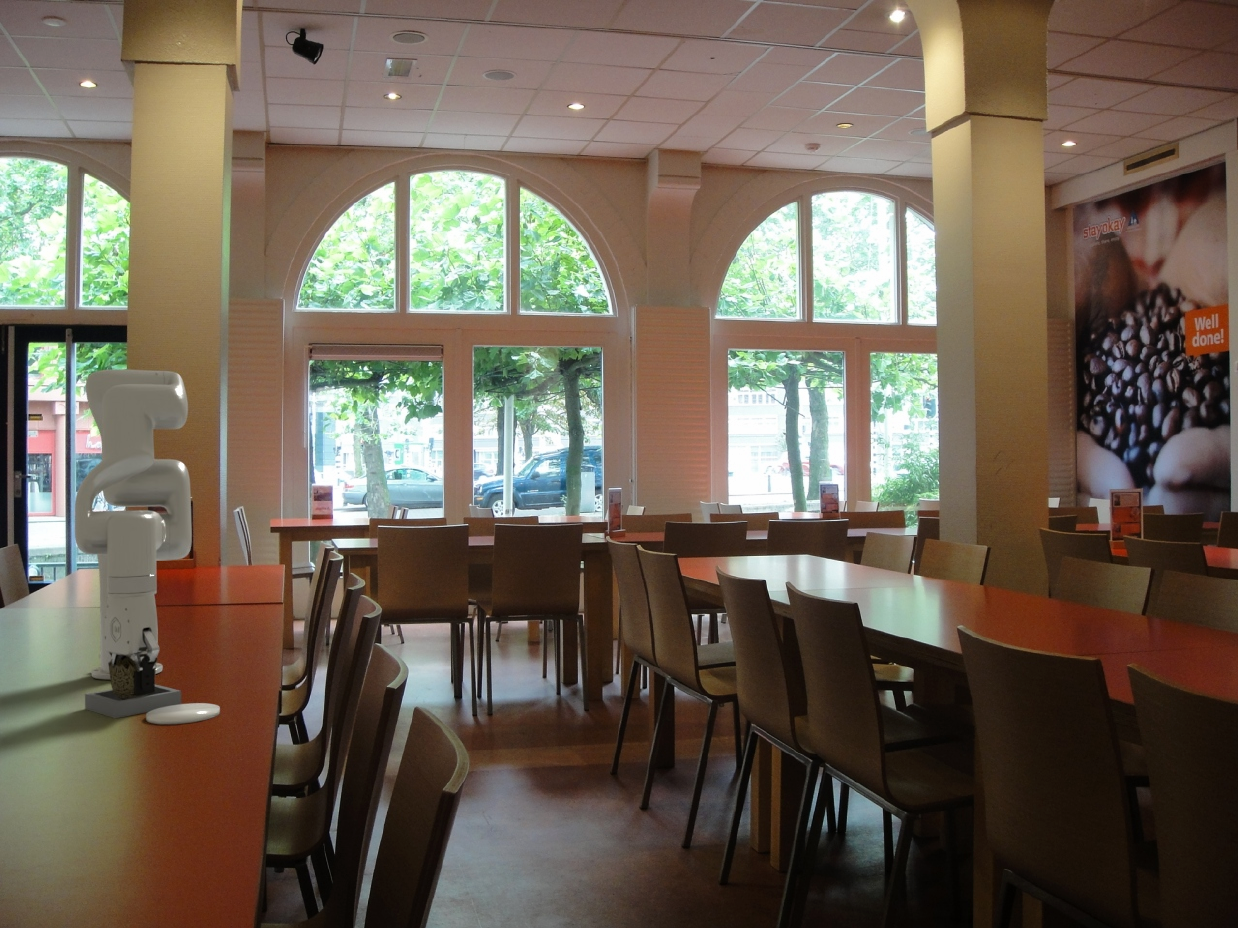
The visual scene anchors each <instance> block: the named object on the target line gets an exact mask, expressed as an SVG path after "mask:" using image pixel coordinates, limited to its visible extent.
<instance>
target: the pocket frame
mask: <svg viewBox="0 0 1238 928" xmlns="http://www.w3.org/2000/svg"><path fill="white" fill-rule="evenodd" d="M179 704H182V690H179V689H175V688H170V687H167V686H164V685H158V684H156V683H155V691H154V692H153V693H149V694H148V695H147V696H143V697H137V698H131V699H126V700H123V699H120V698H118V697H117V696H116V695H115V694H114V692H113V690H112V688H111V689H108V690H100V691H95V692H89V693H85V694H84V709H85V710H88V711H91V712H94V713H97V714H101V715H103V716H107V717H110V718H113V719H119V718H123V717H129V716H134V715H140V714H146V713H148V712H149V711H152V710H154V709H158V708H161V707H166V706H172V705H179Z"/></svg>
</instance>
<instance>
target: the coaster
mask: <svg viewBox="0 0 1238 928" xmlns="http://www.w3.org/2000/svg"><path fill="white" fill-rule="evenodd" d="M220 707H221V706H219V705H218V704H214V703H205V702H200V703H199V702H196V703H194V702H192V703H181V704H179V705H172V706H166V707H161V708H158V709H154V710H152V711H149V712H146V713H145V714H146V715H145V720H146V722H147V723H151V724H153V725H154V724H155V725H178V724H179V725H181V724H190V723H196V722H200V721H201V722H202V721H206V720H210V719H213V718H215V717H217V716H219V715H220V713H221V708H220Z"/></svg>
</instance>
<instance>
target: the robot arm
mask: <svg viewBox="0 0 1238 928" xmlns="http://www.w3.org/2000/svg"><path fill="white" fill-rule="evenodd" d="M85 393H86V395H85V396H86V398H87V399H86V400H87V403H88V407H89V411H90V412H91V415H92V417H93V420H94V422H95V424H96V426H97V429H98V432H99V434H100V440H101V461H100V462H99V463H98V464H96V466H94V467H93V468H92V469H91V470H90V472H88V474H87V475H86V476H85V478H84V479H83V481H81V484H80V485H79V487H78V490H77V493H76V496H75V501H74V502H75V503H74V538H75V543H76V546H77V549H78V550H80V552H82V553H83V554H87V555H93V556H94V555H95V556H97V561H98V562H97V563H98V569H99V570H98V574H99V576H98V577H99V606H100V607H99V622H100V623H99V624H100V625H99V630H100V633H99V635H100V654H99V655H98V657H99V659H100V667H96V668H94V669H93V670H92V671H91V677H92V678H94V679H97V680H110V672H109V665H108V662H112V664H115V665H116V662H117V659H118V658H119V659H121V660H123V659H125V658H126V657H130V658H131V659H132V660H133V661H135V665H136V669H137V671H134V694H135V695H137V696H138V695H144V694H149V693H153V692H154V691H155V684H156V683H155V682H156V681H155V679H156V674H159V673H161V672H162V671H163V668H164V667H163V664H162V663H159V662H158V655H159V653H160V646H159V642H158V640H159V639H158V638H159V637H158V636H159V633H158V631H159V630H158V616H157V615H158V614H157V605H156V598H155V595H156V594H157V590H158V589H157V588H158V587H157V586H158V585H157V584H158V583H157V580H158V579H157V578H158V577H157V576H158V575H157V561H173V560H174V561H175V560H182V559H184V558H186V557H187V556H188V555H189V554H190V553H191V552H190V551H191V549H192V548H191V547H192V543H193V541H192V537H193V536H192V535H193V534H192V533H193V532H192V506H191V505H192V504H191V503H192V501H191V497H192V496H191V495H192V494H191V493H192V492H191V480H190V474H189V470H188V467H187V466H186V465H185V463H183V461H180V460H178V459H172V458H165V459H164V458H163V459H162V458H161V459H160V458H155V446H154V445H155V444H154V430H178V429H181V428H183V427H184V425H185V424H186V422H187V419H188V414H189V404H188V396H187V391H186V387H185V384H184V380H183V378H182V376H181V375H180V374H179V373H177V372H174V371H168V370H149V369H148V370H145V369H122V368H121V369H116V368H115V369H114V368H113V369H111V368H110V369H103V370H96V371H94V372H92V373H90V374H89V375H88V376H87V378H86V381H85ZM101 492H102V494H103V495H102V496H103V497H104V500H105V502H106V503H107V504H108V505H110V506H112V507H113V506H114V507H121V508H123V507H125V508H129V507H131V508H132V507H133V508H135V507H136V508H137V507H143V508H145V507H161V508H163V509H165V510H166V512H156V511H154V510H145V509H143V510H142V509H141V510H99V511H96V510H95V511H93V506H94V505H93V504H94V501H95V499H96V497H97V496H98V495H99V494H100V493H101ZM142 659H143V660H142ZM141 660H142V662H141ZM156 661H157V664H156ZM155 668H156V673H155Z"/></svg>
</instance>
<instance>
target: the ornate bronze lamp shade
mask: <svg viewBox="0 0 1238 928" xmlns="http://www.w3.org/2000/svg"><path fill="white" fill-rule="evenodd" d="M142 660H143V659H142ZM142 660H141V662H142ZM157 663H158V660H157V661H156V664H157ZM108 665H109V672H110V679H109V681H110V685H111V689H112V690H113V692H114V694H115V695H116V696H117V697H118V698H120V699H123V700H126V699H131V698H137V697H143V696H147V695H148V694H144V695H138V696H137V695H135V694H134V671H137V669H136V665H135V661H133V660H132V659H131V658H130V657H126V658H125V659H123V660H121V659H119V658H118V659H117V662H116V665H115V664H112V662H108ZM155 673H156V668H155Z"/></svg>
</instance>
